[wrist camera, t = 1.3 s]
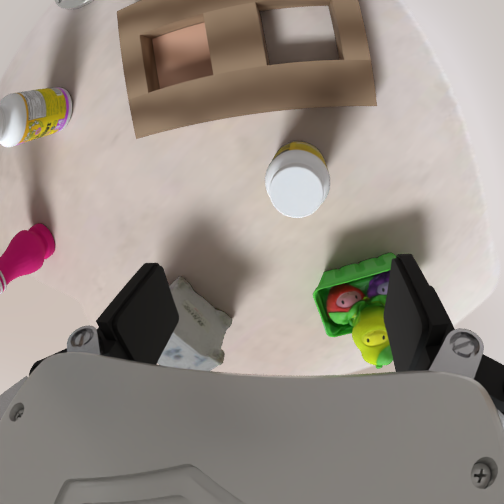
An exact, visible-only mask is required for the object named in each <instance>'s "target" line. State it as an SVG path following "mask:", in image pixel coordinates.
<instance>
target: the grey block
mask: <svg viewBox="0 0 504 504" xmlns="http://www.w3.org/2000/svg"><path fill="white" fill-rule="evenodd" d="M169 288H170V291H171V294H172V297H173V299H174V302H175V305H176V308H177V311H178V314H179V322H178V324H177V326H176V328H175V330H174V332H173V333H172V335H171V337H170V339H169V341H168V343H167V345H166V347H165V349H164V351H163V352H162V354H161V356H160V358H159V360H158V362H157V363H158V364H159V365H162V366H169V367H176V368H184V369H193V370H202V371H211V370H212V369H214V368H215V367H217V366H218V365H221V364H222V363H223V360H224V351H223V350H221V346H222V343H223V339H224V335H225V333H226V330H227V329H228V328H229V327H230V326H231V324H232V319H231V318H230V317H229V316H228V315H227V314H226V313H224V312H223V311H220V310H216V309H215V308H214V307H213V306H212V305H210V304H209V303H208V302H207V301H206V300H205V299H204V298H202V297H201V296H200V295H198V294H196V293H195V292H194V290H193V289H192V287H191V285H190V284H189V283H188V282H187V281H186V280H185V279H183V278H182V277H180V276H179V277H178V278H177V279H176V280H175V281H174V282H173V283H172V284H171V285H170V286H169Z"/></svg>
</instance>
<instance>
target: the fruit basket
mask: <svg viewBox="0 0 504 504" xmlns="http://www.w3.org/2000/svg"><path fill="white" fill-rule="evenodd" d="M393 258H396V256H395V255H394V254H393V253H387V254H384V255H381V256H380V257H378V258H371V259H368V260H364V261H362V262H360V263H359V264H351V265H347V266H344V267H342V268H340V269H333V270H330V271H326V272H324V273H323V276H322V278H321V280H320V283H319V285H318V287H317V288H316V289H315V291H314V293H313V298H314V301H315V303H316V306H317V308H318V311H319V314H320V316H321V319H322V322H323V325H324V328H325V331H326V334H327V335H328V336H330V337H337V336H341V335H345V334H350V333H352V337H353V340H354V342H355V344H356V346H357V347H358V348H359V349H360V351H361V353H362V357H363V359H364V360H365V361H366V362H368V363H370V364H373V365H376V368H377V369H379V368H382V365H388V364H390V363H391V362H392V361H393V356H392V352H391V348H390V343H389V339H388V335H387V331H386V328H385V324H384V308H385V303H386V297H387V290H388V284H389V277H390V269H391V261H392V259H393Z"/></svg>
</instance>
